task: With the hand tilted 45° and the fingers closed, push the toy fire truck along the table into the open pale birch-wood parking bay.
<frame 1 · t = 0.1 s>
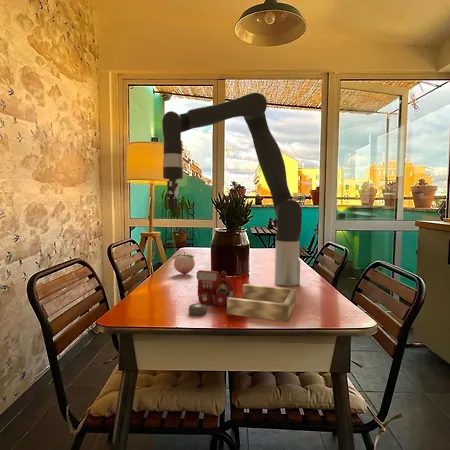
hand: (173, 208, 130), 29 cm above the table, tool pointing down, fingers open, 8 cm apart
toy fire truck: (215, 303, 108), on the table
decorative fruit: (184, 274, 147), on the table
spare wheel: (197, 313, 98), on the table
bay: (261, 307, 103), on the table
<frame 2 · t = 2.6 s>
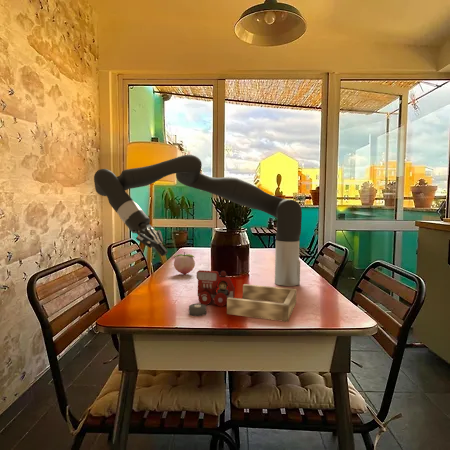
hand: (165, 254, 112), 15 cm above the table, tool tilted 45°, fingers closed
nothing on the table moved.
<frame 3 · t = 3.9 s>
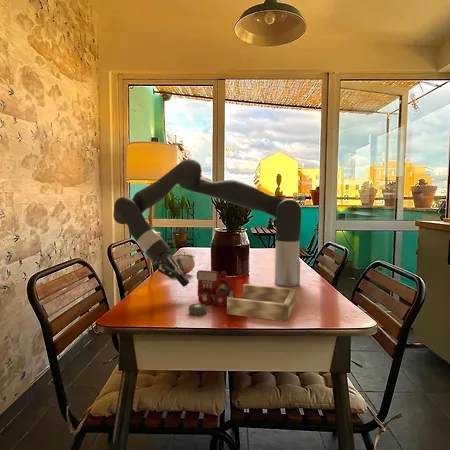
hand: (186, 284, 111), 5 cm above the table, tool tilted 45°, fingers closed
nothing on the table moved.
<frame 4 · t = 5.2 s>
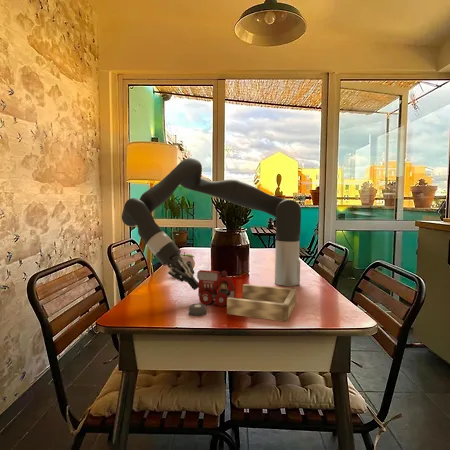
hand: (197, 287, 109), 4 cm above the table, tool tilted 45°, fingers closed
toy fire truck: (216, 303, 107), on the table, touching gripper
everything else where it was.
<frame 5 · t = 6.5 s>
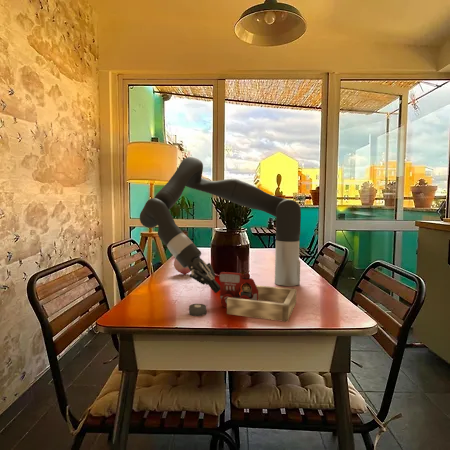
hand: (218, 290, 106), 4 cm above the table, tool tilted 45°, fingers closed
toy fire truck: (238, 306, 105), on the table, touching gripper
everything else where it was.
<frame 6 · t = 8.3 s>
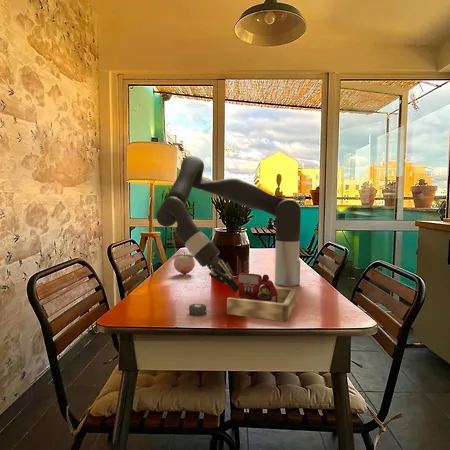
hand: (237, 290, 105), 5 cm above the table, tool tilted 45°, fingers closed
toy fire truck: (256, 308, 103), on the table, touching gripper
everything else where it was.
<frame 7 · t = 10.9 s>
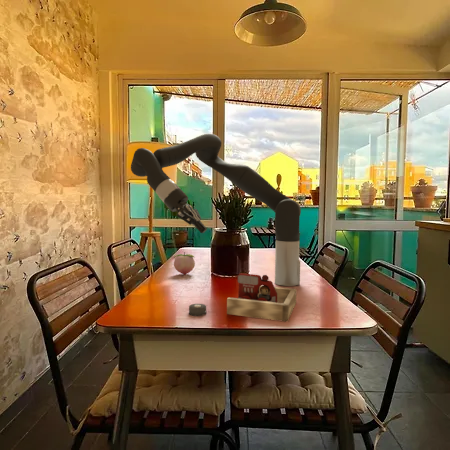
hand: (204, 231, 114), 22 cm above the table, tool tilted 45°, fingers closed
toy fire truck: (256, 308, 103), on the table
everything else where it was.
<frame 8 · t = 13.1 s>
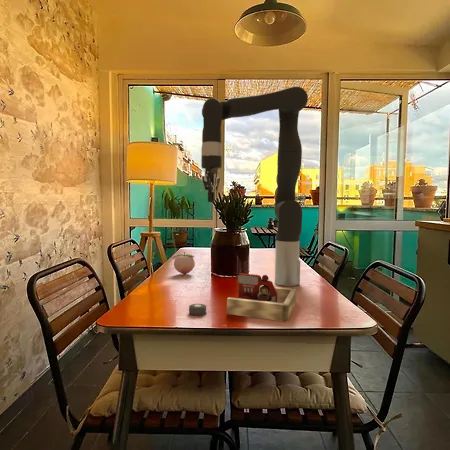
hand: (211, 202, 126), 32 cm above the table, tool pointing down, fingers closed
nothing on the table moved.
at the end: toy fire truck inside the target area on the bay (1.4 cm from its centre), point 0.0 cm above the bay's base; toy fire truck tilted 0°; spare wheel moved 0.0 cm from its start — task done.
